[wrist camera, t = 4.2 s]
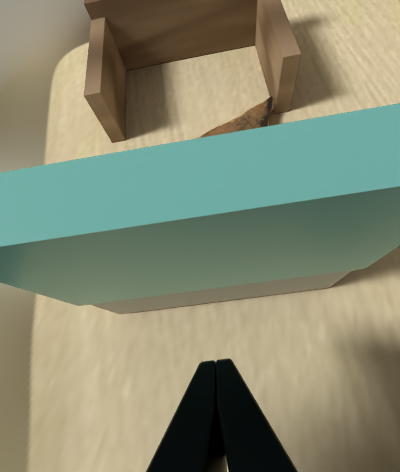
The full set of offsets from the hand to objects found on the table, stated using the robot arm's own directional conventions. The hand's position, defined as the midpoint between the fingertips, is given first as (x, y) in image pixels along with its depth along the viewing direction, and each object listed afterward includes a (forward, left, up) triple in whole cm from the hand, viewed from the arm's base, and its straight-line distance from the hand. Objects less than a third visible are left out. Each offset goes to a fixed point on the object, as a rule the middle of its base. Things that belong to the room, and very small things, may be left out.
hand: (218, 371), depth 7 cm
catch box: (+20, 0, -7) cm, 21 cm away
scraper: (+4, 0, -7) cm, 8 cm away
